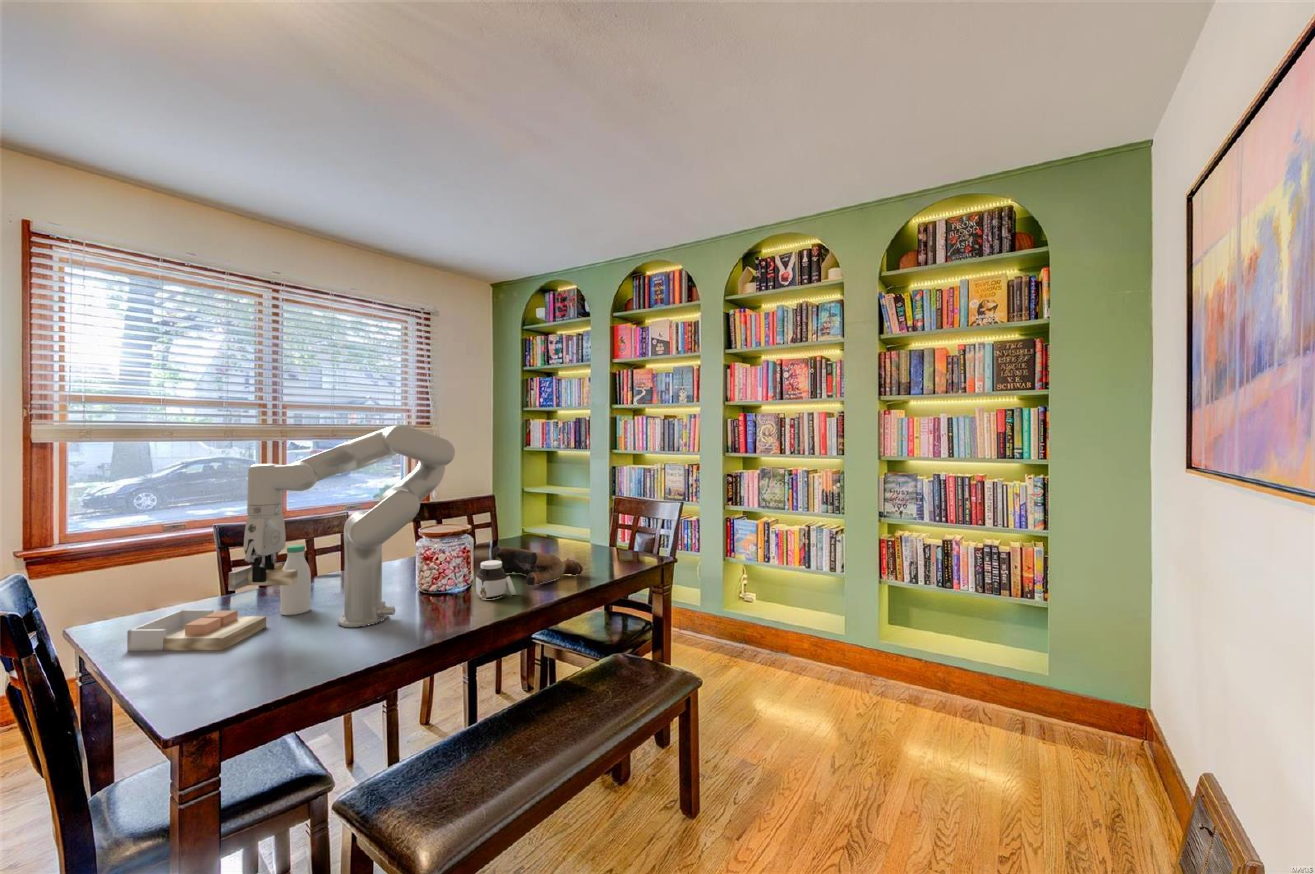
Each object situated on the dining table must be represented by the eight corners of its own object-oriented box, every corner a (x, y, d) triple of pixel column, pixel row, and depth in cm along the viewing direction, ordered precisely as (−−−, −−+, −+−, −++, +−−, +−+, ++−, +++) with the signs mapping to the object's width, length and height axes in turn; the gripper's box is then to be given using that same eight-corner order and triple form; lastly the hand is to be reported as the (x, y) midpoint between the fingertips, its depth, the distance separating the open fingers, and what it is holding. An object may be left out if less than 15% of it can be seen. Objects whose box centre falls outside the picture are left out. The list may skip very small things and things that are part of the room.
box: (213, 627, 149) (213, 609, 149) (162, 650, 133) (163, 630, 133) (181, 627, 149) (181, 609, 149) (127, 650, 133) (127, 630, 133)
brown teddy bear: (540, 549, 187) (590, 546, 207) (485, 545, 205) (536, 543, 225) (538, 587, 185) (589, 580, 205) (483, 580, 203) (535, 574, 223)
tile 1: (220, 627, 141) (220, 617, 141) (205, 634, 136) (205, 624, 136) (200, 627, 141) (201, 617, 141) (185, 634, 136) (185, 624, 136)
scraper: (307, 578, 148) (308, 561, 148) (279, 590, 136) (280, 572, 136) (260, 578, 148) (261, 561, 148) (228, 590, 136) (228, 572, 136)
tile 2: (237, 619, 147) (237, 610, 147) (223, 625, 142) (223, 616, 142) (218, 619, 147) (218, 610, 147) (203, 626, 142) (204, 616, 142)
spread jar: (472, 597, 179) (472, 562, 179) (502, 589, 188) (502, 556, 188) (492, 604, 171) (492, 568, 171) (522, 596, 180) (522, 562, 180)
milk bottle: (316, 609, 165) (316, 544, 165) (290, 617, 158) (290, 549, 158) (300, 606, 168) (300, 542, 168) (274, 613, 161) (274, 547, 161)
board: (266, 626, 150) (266, 616, 150) (222, 649, 134) (222, 637, 134) (214, 627, 149) (214, 616, 149) (164, 650, 133) (164, 638, 133)
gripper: (258, 515, 134) (257, 588, 134) (298, 506, 150) (296, 572, 150) (227, 514, 134) (225, 588, 134) (270, 506, 150) (269, 572, 150)
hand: (263, 579), depth 142 cm, fingers closed on scraper, 2 cm apart
